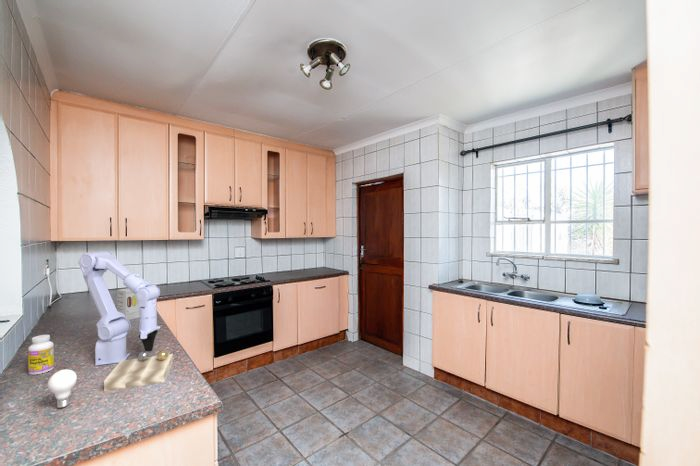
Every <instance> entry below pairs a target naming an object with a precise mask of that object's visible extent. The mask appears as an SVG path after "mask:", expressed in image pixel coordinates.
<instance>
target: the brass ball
mask: <svg viewBox="0 0 700 466" xmlns="http://www.w3.org/2000/svg"><path fill="white" fill-rule="evenodd" d="M168 354H169V352H168V351H167V350H164V349H163V350H160V351H159V352H158V353H157V355H156V356H157V358H158V359H159V360H165V359H166V358H167V357H168Z"/></svg>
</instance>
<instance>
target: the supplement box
mask: <svg viewBox="0 0 700 466" xmlns="http://www.w3.org/2000/svg"><path fill="white" fill-rule="evenodd" d="M135 295H136V294H134V293H133V292H132V291H131V290H130V289H128V288H127V287H125V288H121V289H116V309H117V311H118V312H120V313H123V314H125V317H126V318H127V319H128V320H129V321H131V320H134V319H135V320H136V319H140V315H139V305H138V301H137V300H136V298H135Z"/></svg>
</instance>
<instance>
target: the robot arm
mask: <svg viewBox="0 0 700 466" xmlns="http://www.w3.org/2000/svg"><path fill="white" fill-rule="evenodd" d="M78 265H79V267H80V270H81V272H82V275H83V279H84V282H85V284H86V286H87V288H88V291H89V293H90V296H91V298H92V300H93V302H94V304H95V307H96V309H97V311H98V314H99V317H100V319H99V320H98V321H97V323H96V327H97V335H98V338H99V339H98V340H97V341H96V343H95V347H94V348H95V349H94V353H95V355H94V356H95V359H94V360H95V364H94V366H101V365H102V366H103V365H110V364H118V363H119V362H120V361H121V360H128V358H129V356H130V355H131V353H130V352H127V335H128V333H129V331H130V330H131V328H132V325H131V320H128V319H127V318H126V317H125V314H123V313H120V312H118V311H117V306H116V304H115V302H114V301H113V297H112V296H111V294H110V292H109V289H108V287H107V283H106V282H105V280H104V277H103V276H104V274H105V273H106V272H107V270H108V271H110V272H111V273H113V274H114V275H115V276H117V277H118V278H120V279H121V280H122V283H123V285H124V286H125V288H128V289H130V290H131V291H132V292H133V293H134V294H136V295H135V298H136V300H137V301H138V305H139V315H140V317H139V328H138V331H139V335H138V338H139V339H140V341H141V342H142V345H143V348H144V351H148V352H152V351H153V349H154V345H155V339H156V336H157V334H158V333H159V332H158V330H160V329H161V325H158V320H157V319H158V307H157V301H158V300H157V299H158V298H159V297H160V294H161V290H160V287H158V285H156V284H154V283H153V284H152V283H149V282H148V281H146V280H145V279H144V278H142V277H141V275H140V274H139V273H131V272H130V271H129V270H128V269H127V268H126V267H125V266H124V265H123V264H122V262H120V261H119V260H118V259H117V255H116V254H114V253H113V252H112V251H110V250H104V251H103V250H102V251H94V252H85V253H82V255H81V256H80V258H79V259H78Z"/></svg>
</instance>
